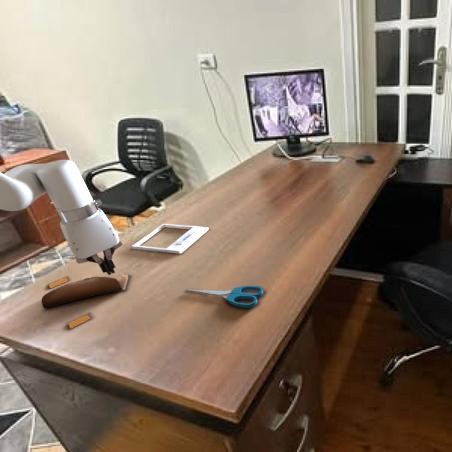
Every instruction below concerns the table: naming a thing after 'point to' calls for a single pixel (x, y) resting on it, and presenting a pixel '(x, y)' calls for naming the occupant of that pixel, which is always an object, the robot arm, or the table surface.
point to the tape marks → (77, 321)
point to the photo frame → (178, 244)
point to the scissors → (236, 295)
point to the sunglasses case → (84, 289)
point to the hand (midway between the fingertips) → (110, 272)
